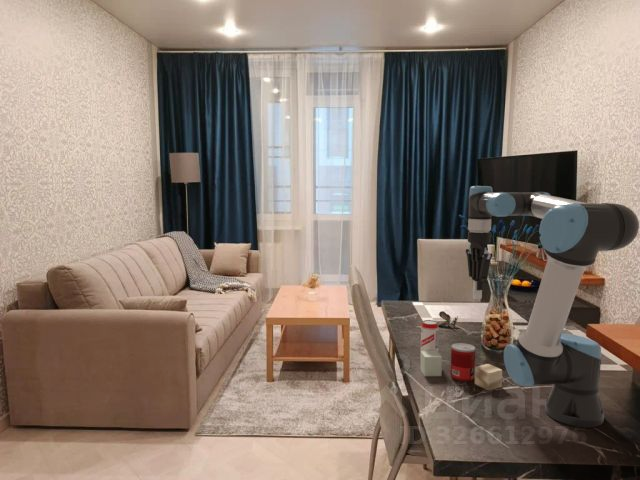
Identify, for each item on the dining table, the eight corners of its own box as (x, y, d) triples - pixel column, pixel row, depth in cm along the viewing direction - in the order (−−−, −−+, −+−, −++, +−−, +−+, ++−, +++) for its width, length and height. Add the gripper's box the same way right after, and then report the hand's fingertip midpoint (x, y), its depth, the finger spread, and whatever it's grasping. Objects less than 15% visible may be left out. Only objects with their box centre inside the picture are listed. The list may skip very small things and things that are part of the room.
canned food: (475, 382, 164) (476, 351, 163) (451, 380, 166) (452, 349, 165) (473, 373, 172) (474, 343, 170) (449, 372, 173) (450, 342, 172)
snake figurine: (457, 322, 230) (438, 316, 234) (458, 312, 226) (439, 306, 229) (453, 334, 225) (434, 328, 229) (454, 324, 221) (434, 318, 224)
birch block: (501, 387, 161) (502, 369, 160) (488, 390, 158) (489, 373, 157) (487, 380, 166) (488, 363, 165) (474, 384, 163) (475, 366, 163)
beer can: (434, 368, 177) (435, 325, 175) (417, 364, 180) (418, 322, 178) (439, 362, 182) (441, 321, 180) (423, 359, 185) (424, 318, 183)
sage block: (441, 376, 170) (442, 356, 169) (424, 376, 170) (424, 357, 169) (436, 369, 176) (437, 350, 175) (420, 369, 176) (420, 351, 175)
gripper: (500, 232, 161) (497, 302, 164) (478, 229, 174) (476, 294, 177) (480, 233, 160) (477, 303, 162) (459, 229, 172) (457, 295, 175)
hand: (477, 298), depth 170 cm, fingers closed
